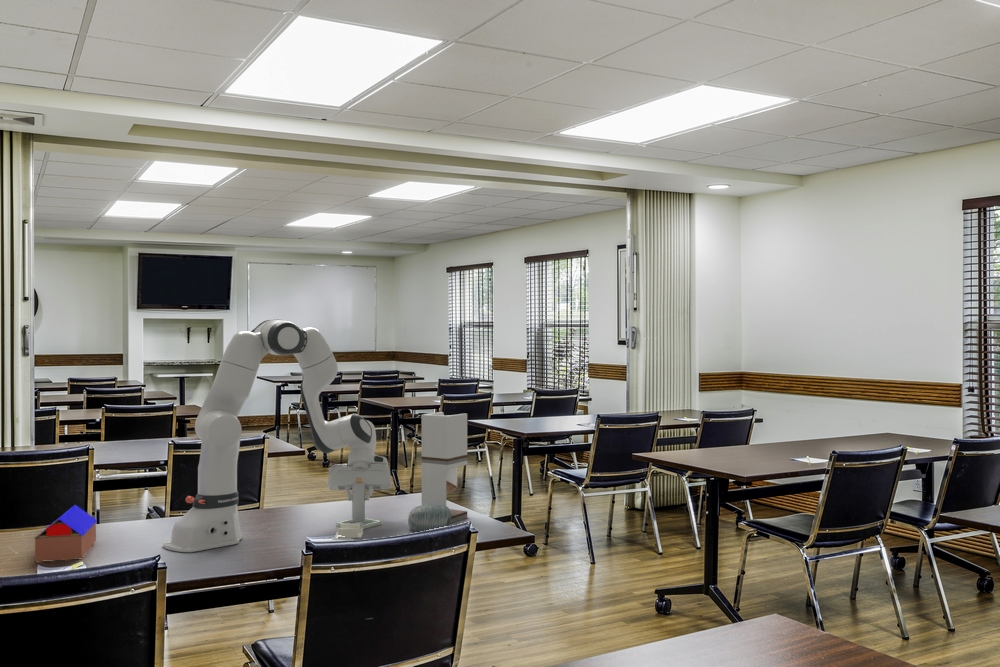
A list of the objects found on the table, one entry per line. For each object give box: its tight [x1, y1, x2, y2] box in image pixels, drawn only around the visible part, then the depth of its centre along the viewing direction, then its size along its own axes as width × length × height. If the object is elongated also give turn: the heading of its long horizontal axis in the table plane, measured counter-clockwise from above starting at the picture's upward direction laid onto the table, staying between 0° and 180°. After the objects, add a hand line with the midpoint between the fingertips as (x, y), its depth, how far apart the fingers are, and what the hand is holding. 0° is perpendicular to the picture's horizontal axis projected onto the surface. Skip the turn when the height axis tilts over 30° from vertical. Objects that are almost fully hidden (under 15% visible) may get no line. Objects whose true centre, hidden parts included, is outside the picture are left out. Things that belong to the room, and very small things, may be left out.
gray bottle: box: [351, 478, 366, 523], centre depth 256 cm, size 4×4×14 cm
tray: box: [335, 517, 382, 530], centre depth 256 cm, size 10×10×2 cm
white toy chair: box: [334, 522, 365, 539], centre depth 246 cm, size 8×11×3 cm
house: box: [34, 504, 98, 562], centre depth 227 cm, size 12×20×12 cm, turn 16°
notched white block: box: [421, 411, 468, 524], centre depth 269 cm, size 11×11×35 cm
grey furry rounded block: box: [407, 504, 451, 532], centre depth 252 cm, size 14×10×10 cm
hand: (358, 499), depth 256 cm, fingers closed on gray bottle, 4 cm apart
